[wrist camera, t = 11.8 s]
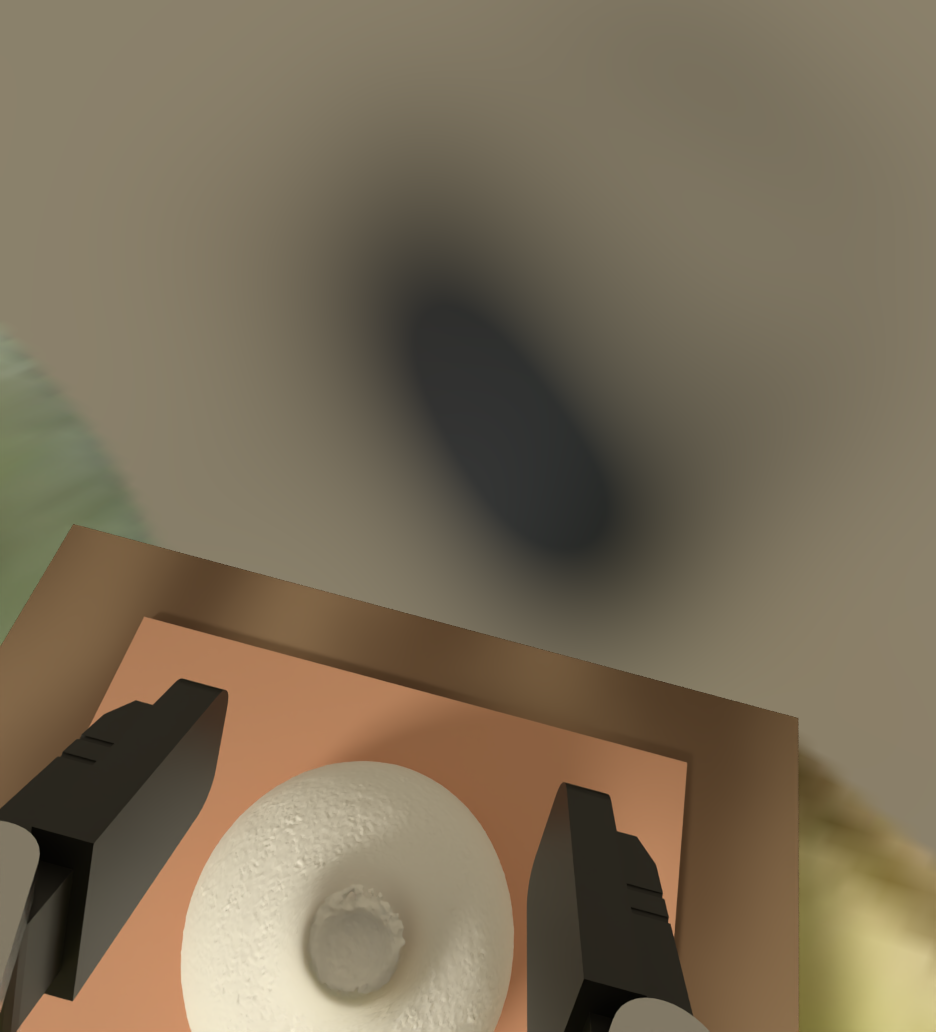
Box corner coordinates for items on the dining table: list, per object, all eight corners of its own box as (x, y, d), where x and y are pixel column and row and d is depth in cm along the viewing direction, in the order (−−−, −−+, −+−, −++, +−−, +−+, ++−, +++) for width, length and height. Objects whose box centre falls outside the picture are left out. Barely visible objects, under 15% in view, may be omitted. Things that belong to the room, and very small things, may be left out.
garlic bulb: (144, 985, 15) (-115, 1122, 7) (322, 716, 17) (260, 620, 10) (404, 1178, 14) (401, 1549, 6) (553, 863, 16) (671, 876, 9)
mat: (-98, 1115, 13) (-108, 1119, 13) (147, 620, 18) (144, 616, 18) (639, 1319, 13) (645, 1327, 13) (683, 764, 18) (687, 762, 18)
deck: (-182, 1148, 16) (-339, 1215, 12) (118, 583, 23) (73, 524, 19) (702, 1395, 15) (799, 1533, 12) (731, 748, 22) (798, 718, 19)
